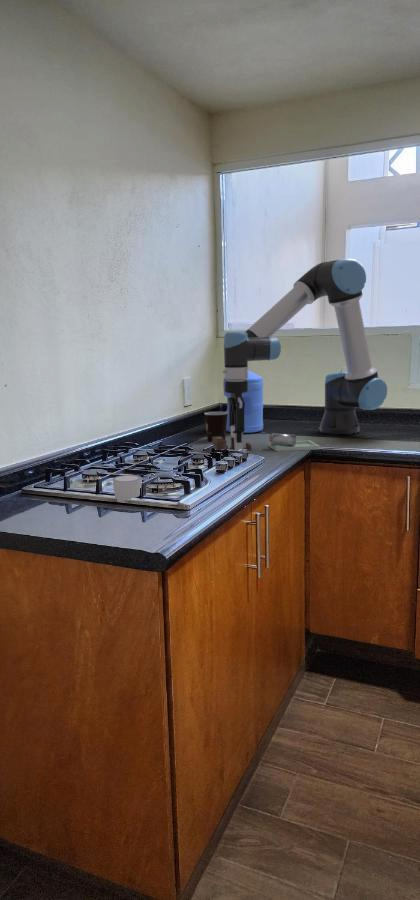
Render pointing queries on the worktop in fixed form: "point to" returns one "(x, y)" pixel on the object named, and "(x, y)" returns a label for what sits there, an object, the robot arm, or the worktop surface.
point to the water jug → (250, 404)
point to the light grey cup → (126, 487)
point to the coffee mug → (215, 424)
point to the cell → (232, 436)
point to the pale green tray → (297, 446)
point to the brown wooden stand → (221, 443)
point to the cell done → (282, 439)
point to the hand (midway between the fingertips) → (236, 450)
